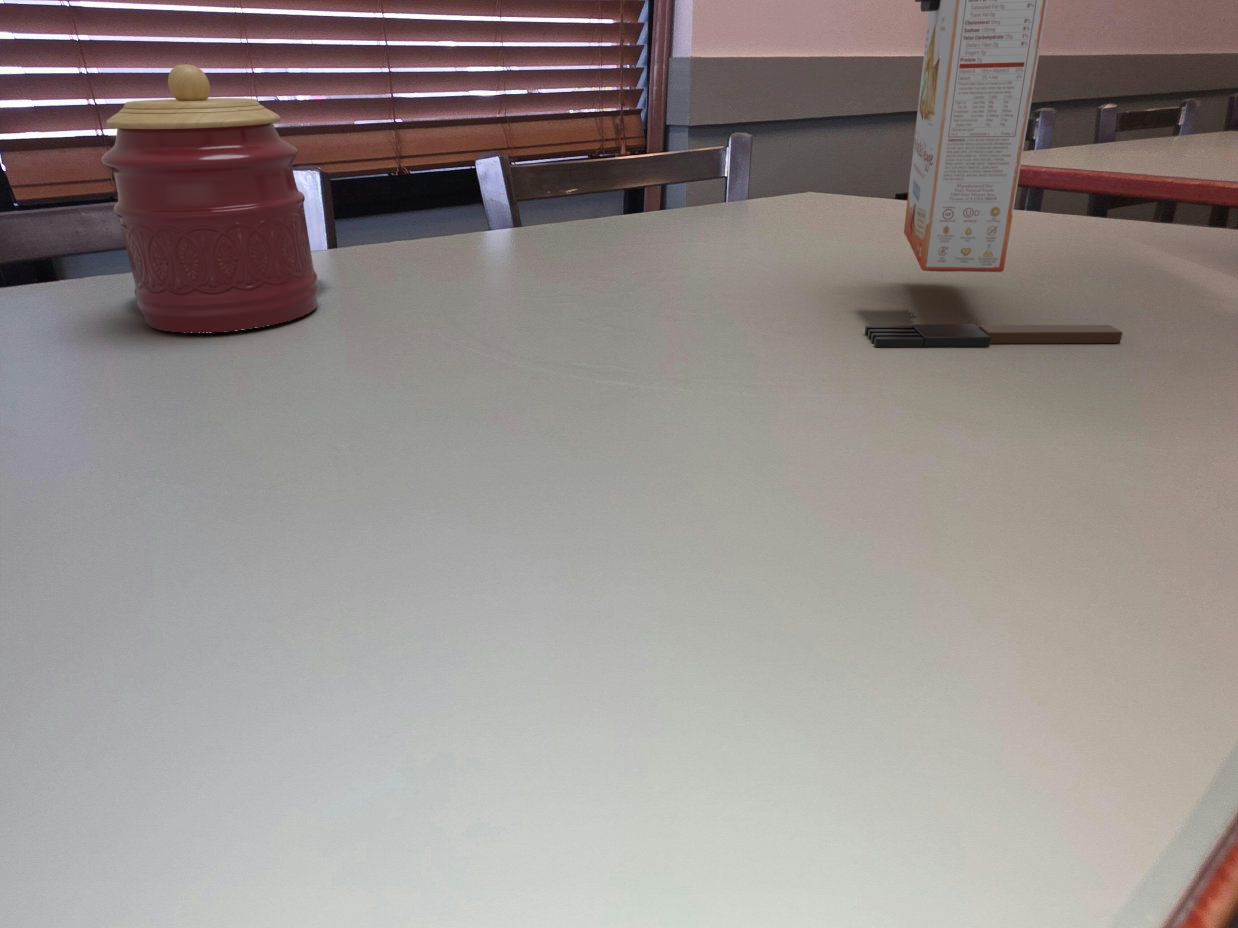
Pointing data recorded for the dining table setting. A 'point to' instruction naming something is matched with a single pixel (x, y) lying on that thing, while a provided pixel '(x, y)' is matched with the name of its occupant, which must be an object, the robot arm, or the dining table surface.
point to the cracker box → (971, 131)
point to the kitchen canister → (210, 211)
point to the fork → (987, 334)
